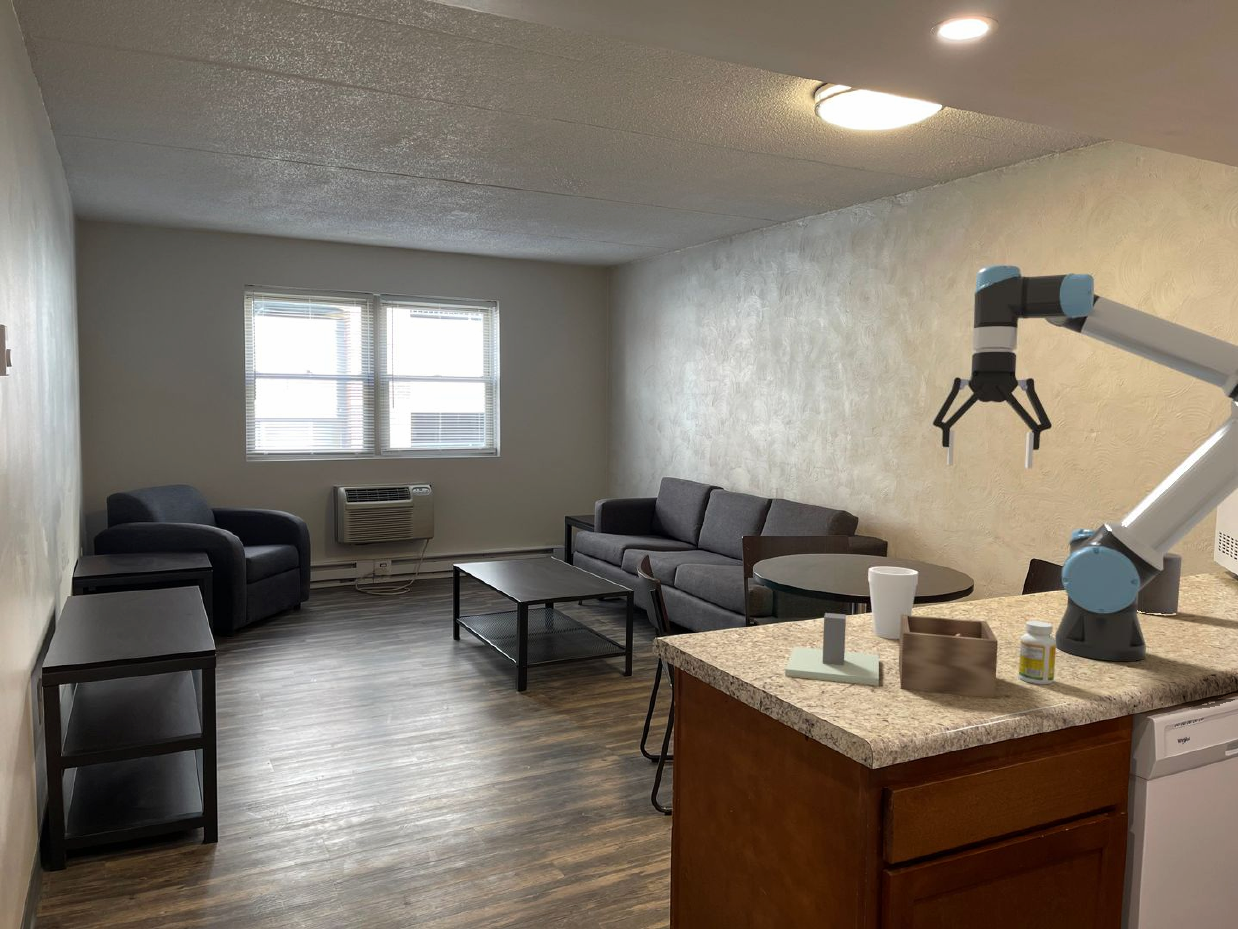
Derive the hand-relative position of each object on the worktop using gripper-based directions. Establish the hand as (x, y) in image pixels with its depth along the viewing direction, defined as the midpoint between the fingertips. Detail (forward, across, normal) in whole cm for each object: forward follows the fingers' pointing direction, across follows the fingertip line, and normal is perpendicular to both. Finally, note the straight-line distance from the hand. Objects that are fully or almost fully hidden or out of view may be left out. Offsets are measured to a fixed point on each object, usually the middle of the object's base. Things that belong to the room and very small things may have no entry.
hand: (988, 466), depth 164 cm
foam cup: (+35, +16, -6) cm, 39 cm away
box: (+35, +8, +23) cm, 42 cm away
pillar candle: (+35, -43, -52) cm, 76 cm away
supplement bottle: (+35, -7, +17) cm, 39 cm away
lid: (+35, +26, +22) cm, 49 cm away
